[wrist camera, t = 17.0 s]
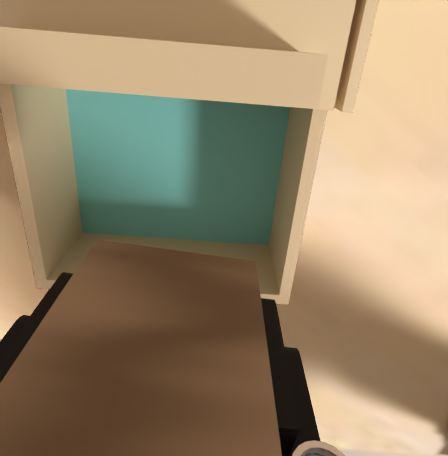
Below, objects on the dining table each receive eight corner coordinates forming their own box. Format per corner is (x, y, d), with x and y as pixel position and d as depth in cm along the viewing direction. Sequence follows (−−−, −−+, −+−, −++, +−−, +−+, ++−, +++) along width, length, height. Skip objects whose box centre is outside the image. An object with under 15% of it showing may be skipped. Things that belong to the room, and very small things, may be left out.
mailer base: (275, 249, 29) (288, 304, 23) (77, 235, 29) (36, 288, 23) (333, -104, 19) (383, -174, 13) (31, -133, 19) (-66, -221, 13)
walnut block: (255, 261, 10) (287, 498, 5) (230, 371, 12) (232, 624, 7) (96, 239, 10) (-56, 466, 5) (97, 355, 12) (-8, 606, 7)
